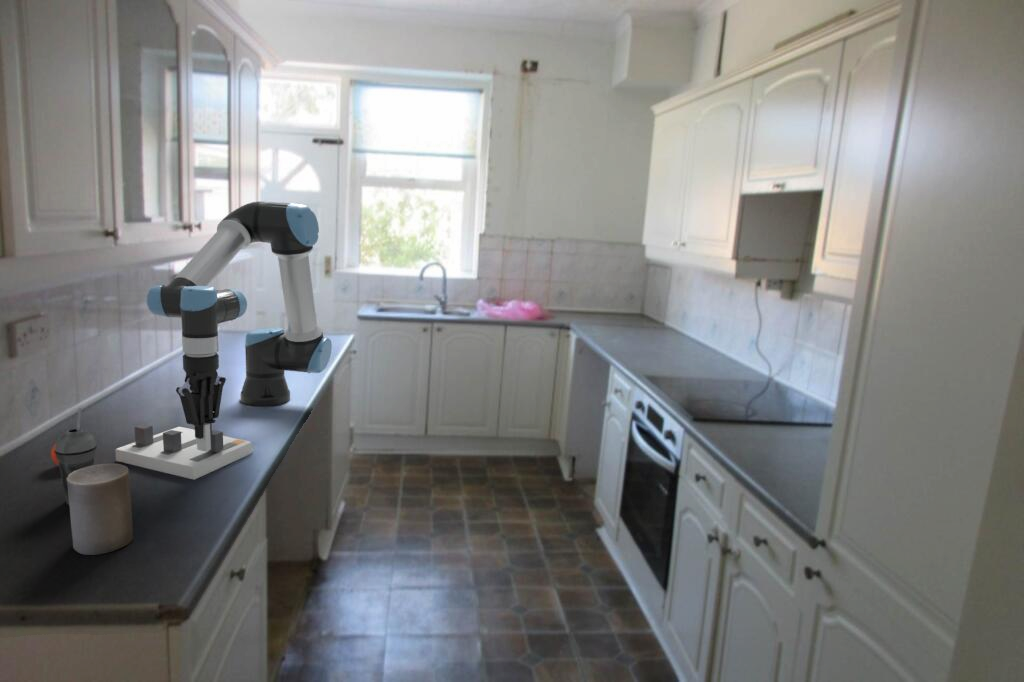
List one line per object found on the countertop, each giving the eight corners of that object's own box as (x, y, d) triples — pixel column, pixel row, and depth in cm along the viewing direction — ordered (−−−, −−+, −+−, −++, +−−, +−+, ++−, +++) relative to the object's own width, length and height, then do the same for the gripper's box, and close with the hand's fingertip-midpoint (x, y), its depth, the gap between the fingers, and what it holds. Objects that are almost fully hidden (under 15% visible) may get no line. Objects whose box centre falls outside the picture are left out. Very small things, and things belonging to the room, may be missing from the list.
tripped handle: (213, 447, 161) (213, 429, 160) (223, 449, 160) (222, 431, 159) (205, 450, 159) (205, 432, 158) (215, 452, 158) (215, 434, 157)
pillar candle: (142, 529, 127) (137, 456, 124) (120, 555, 118) (114, 476, 115) (87, 530, 126) (81, 456, 123) (61, 556, 116) (54, 477, 113)
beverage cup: (52, 500, 136) (45, 408, 132) (92, 490, 142) (86, 401, 138) (66, 511, 132) (59, 417, 128) (105, 500, 138) (100, 409, 134)
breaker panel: (179, 437, 176) (178, 410, 174) (252, 453, 168) (251, 424, 166) (116, 460, 158) (114, 430, 156) (194, 479, 150) (192, 448, 149)
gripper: (209, 346, 159) (212, 438, 163) (164, 356, 147) (169, 455, 151) (234, 350, 156) (236, 443, 161) (191, 361, 144) (194, 461, 149)
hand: (203, 449), depth 156 cm, fingers closed
